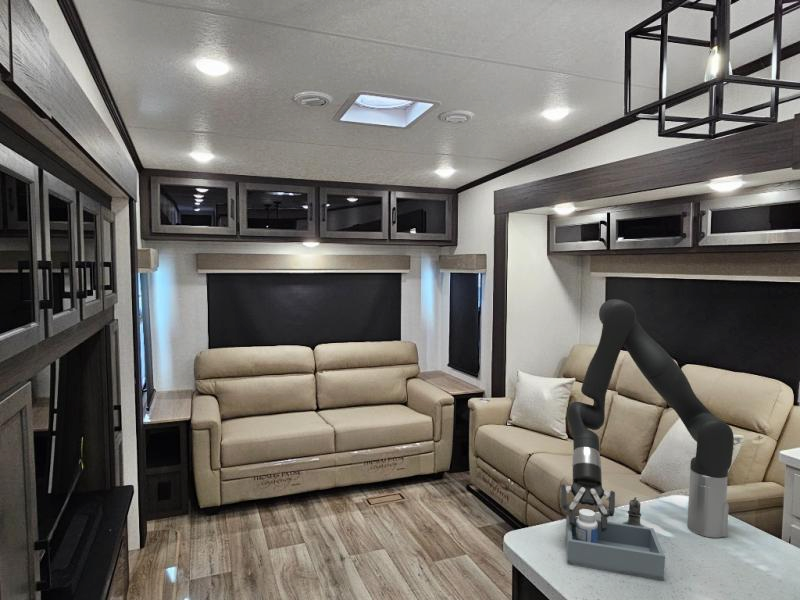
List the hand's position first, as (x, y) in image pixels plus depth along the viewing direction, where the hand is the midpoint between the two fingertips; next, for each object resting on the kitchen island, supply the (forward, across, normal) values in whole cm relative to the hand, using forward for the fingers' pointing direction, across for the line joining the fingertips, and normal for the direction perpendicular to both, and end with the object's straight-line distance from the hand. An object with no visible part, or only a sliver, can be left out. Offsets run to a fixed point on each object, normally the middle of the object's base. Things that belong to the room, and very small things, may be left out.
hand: (588, 528), depth 131 cm
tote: (+4, +6, +6) cm, 10 cm away
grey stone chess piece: (-4, +13, +15) cm, 20 cm away
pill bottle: (+3, 0, +6) cm, 7 cm away
